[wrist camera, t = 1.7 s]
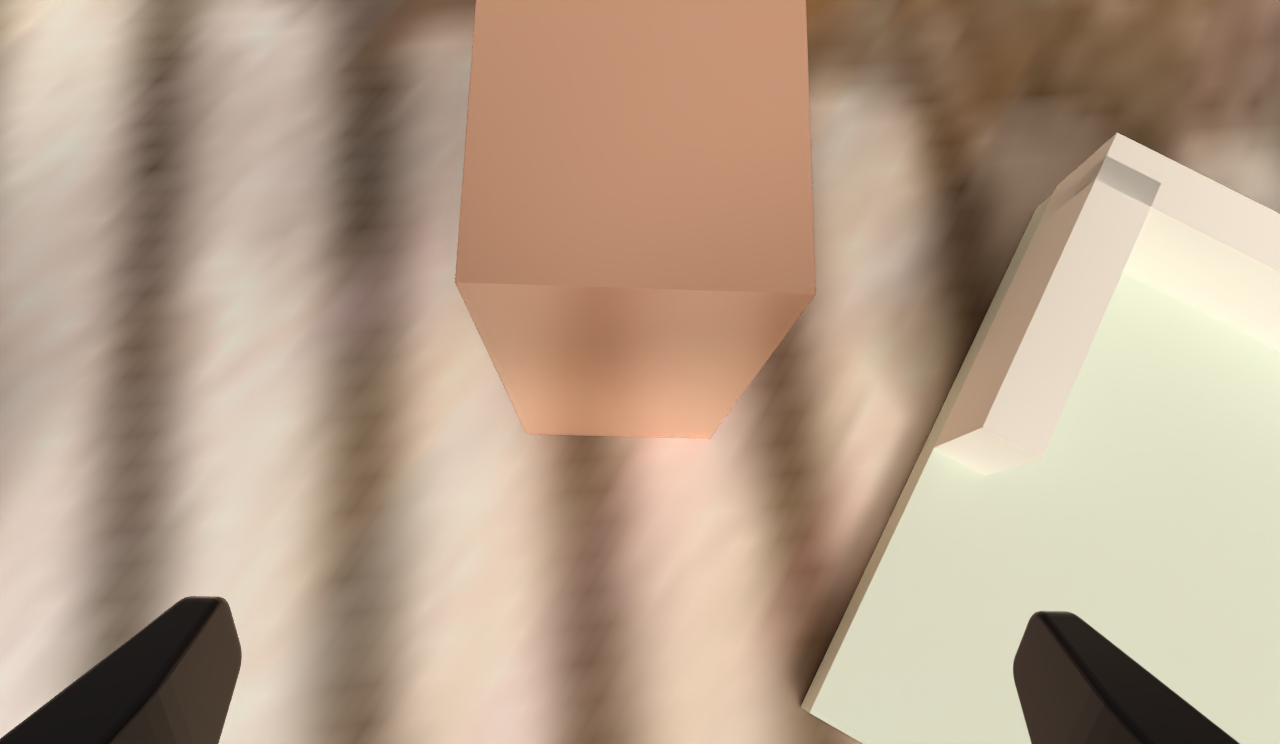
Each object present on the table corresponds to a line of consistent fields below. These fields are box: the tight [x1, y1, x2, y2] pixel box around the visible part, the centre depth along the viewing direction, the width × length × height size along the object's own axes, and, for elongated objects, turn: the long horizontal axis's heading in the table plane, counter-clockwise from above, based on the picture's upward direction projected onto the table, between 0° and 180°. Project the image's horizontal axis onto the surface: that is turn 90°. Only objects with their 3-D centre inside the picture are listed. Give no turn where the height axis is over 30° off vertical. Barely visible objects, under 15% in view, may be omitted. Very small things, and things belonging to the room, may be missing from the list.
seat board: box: [800, 133, 1280, 744], centre depth 21 cm, size 16×14×4 cm
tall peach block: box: [455, 0, 816, 439], centre depth 18 cm, size 6×5×12 cm
